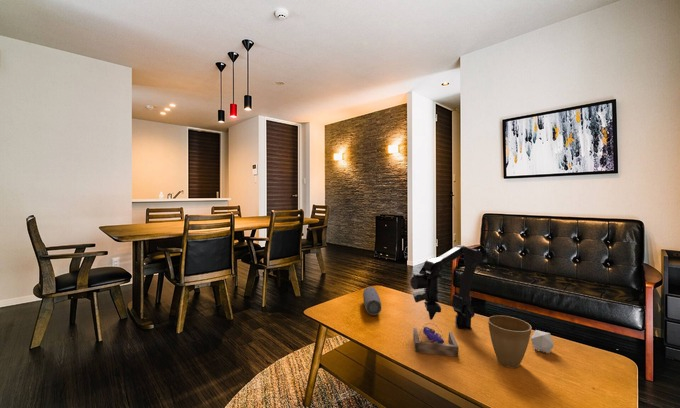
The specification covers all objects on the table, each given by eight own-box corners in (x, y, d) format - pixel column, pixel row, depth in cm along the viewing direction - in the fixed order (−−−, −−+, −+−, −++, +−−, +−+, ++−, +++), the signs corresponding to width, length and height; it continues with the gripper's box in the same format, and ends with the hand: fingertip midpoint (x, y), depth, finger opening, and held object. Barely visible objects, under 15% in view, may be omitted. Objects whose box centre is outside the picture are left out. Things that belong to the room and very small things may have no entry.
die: (555, 351, 126) (542, 328, 131) (562, 350, 119) (548, 326, 124) (536, 356, 127) (523, 333, 132) (542, 356, 120) (528, 331, 125)
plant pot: (529, 359, 118) (531, 320, 118) (530, 378, 106) (531, 335, 105) (488, 348, 126) (489, 312, 126) (484, 365, 114) (485, 324, 113)
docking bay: (451, 340, 133) (452, 331, 132) (458, 356, 119) (458, 347, 119) (413, 336, 136) (413, 328, 136) (415, 352, 123) (415, 342, 122)
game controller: (452, 335, 129) (440, 338, 122) (444, 353, 130) (431, 357, 123) (431, 320, 137) (419, 322, 130) (424, 336, 138) (411, 339, 131)
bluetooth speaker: (382, 317, 156) (382, 299, 156) (365, 317, 156) (365, 298, 156) (377, 301, 179) (377, 285, 179) (362, 301, 179) (362, 285, 179)
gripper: (413, 280, 150) (412, 310, 151) (415, 292, 132) (415, 326, 132) (435, 281, 148) (434, 312, 149) (441, 294, 130) (440, 328, 130)
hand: (430, 319), depth 140 cm, fingers closed
